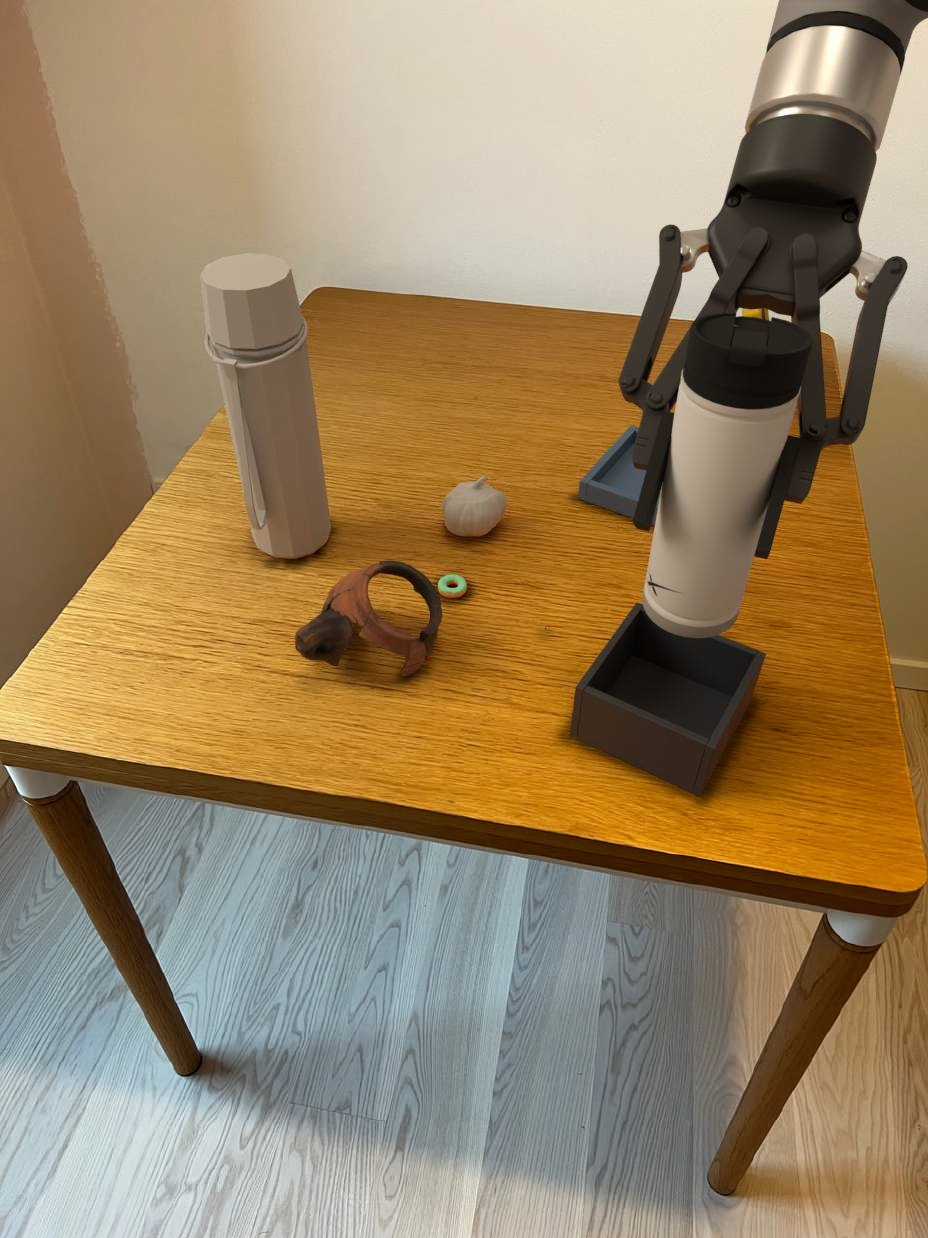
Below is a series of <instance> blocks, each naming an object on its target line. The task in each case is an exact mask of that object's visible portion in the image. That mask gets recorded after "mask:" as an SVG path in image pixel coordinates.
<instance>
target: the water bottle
mask: <svg viewBox="0 0 928 1238" xmlns="http://www.w3.org/2000/svg"><path fill="white" fill-rule="evenodd" d="M199 277H200V287H201V297H202V305H203V314H204V315H203V316H204V325H205V331H206V333H205V337H204V340H203V341H204V343H203V344H204V346H205V347H204V348H205V350H206V353H207V354H208V356H210V358H211V359H212V360H213V361H214V362H215V365H216V370H217V374H218V379H219V383H220V389H221V393H222V398H223V403H224V408H225V412H226V416H227V422H228V426H229V431H230V436H231V441H232V446H233V450H234V455H235V460H236V465H237V470H238V474H239V479H240V485H241V489H242V494H243V499H244V505H245V510H246V513H247V517H248V522H249V527H250V531H251V537H252V539H253V541H254V543H255V545H256V547H257V549H258V550H259V551H261V552H263V553H264V554H267V555H270V556H271V557H274V558H276V559H289V560H296V559H300V558H303V557H307V556H309V555H310V556H311V555H313V554H314V553H315V552H317V551H318V550H320V548H322V547H323V546H324V545H325V544H326V543H328V540H329V537H330V534H331V531H332V523H331V514H330V508H329V501H328V500H329V499H328V492H327V486H326V485H327V483H326V477H325V470H324V462H323V455H322V447H321V439H320V432H319V425H318V424H319V423H318V416H317V408H316V401H315V394H314V385H313V378H312V370H311V365H310V364H311V363H310V355H309V348H308V341H307V336H308V330H309V326H308V324H307V321H306V319H305V317H304V316H303V313H302V309H301V305H300V301H299V297H298V293H297V289H296V285H295V281H294V276H293V271H292V268H291V266H290V265H289V263H288V262H287V260H285V258H282V257H279V256H276V255H272V254H270V253H253V252H252V253H251V252H245V253H240V254H233V255H228V256H227V255H226V256H222V257H220V258H219V259H217V260H215V261H211V262H210V263H208V264H206V265H205V267H204V268H203V270H201V272H200V274H199ZM210 340H211V342H212V348H211V344H210Z"/></svg>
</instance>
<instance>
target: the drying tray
mask: <svg viewBox="0 0 928 1238" xmlns="http://www.w3.org/2000/svg"><path fill="white" fill-rule="evenodd" d="M638 429H639V426H636V425H632V424H631V425H629V427H628V428H627V429H626V430H625V431H624V432H623V433H622V435H621V436H619V437H618V438H617V440H616V441H615V442H614V443H613V444H612V445H611V446H610V447H609V449H607V450H606V451H605V453H604V454H603V455H602V456H601V457H600V459H598V460H597V461H596V462H595V464H594V465H593V466H592V467H591V468H590V469H589V471H587V473H586V474H585V475H584V476H583V477H582V478H581V479H580V480H579V487H578V496H577V498H578V500H581V501H584V502H586V503H588V504H589V503H590V504H593V505H595V506H598V507H601V508H603V509H607V510H608V511H612V512H614V513H618V514H620V515H623V516H625V517H629V518H632V519H633V518H634V514H635V511H636V507H637V504H638V500H639V496H640V493H641V489H642V485H643V482H644V478H645V474H646V470H641V469H636V468H635V467H634V465H633V460H632V451H633V448H634V444H635V440H636V437H637V433H638ZM661 488H662V487H661ZM660 494H661V490H660ZM660 494H659V498H658V501H657V505H656V508H655V512H654V516H653V519H652V523H651V526H654V527H655V522H656V517H657V511H658V505H659V500H660Z"/></svg>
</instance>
